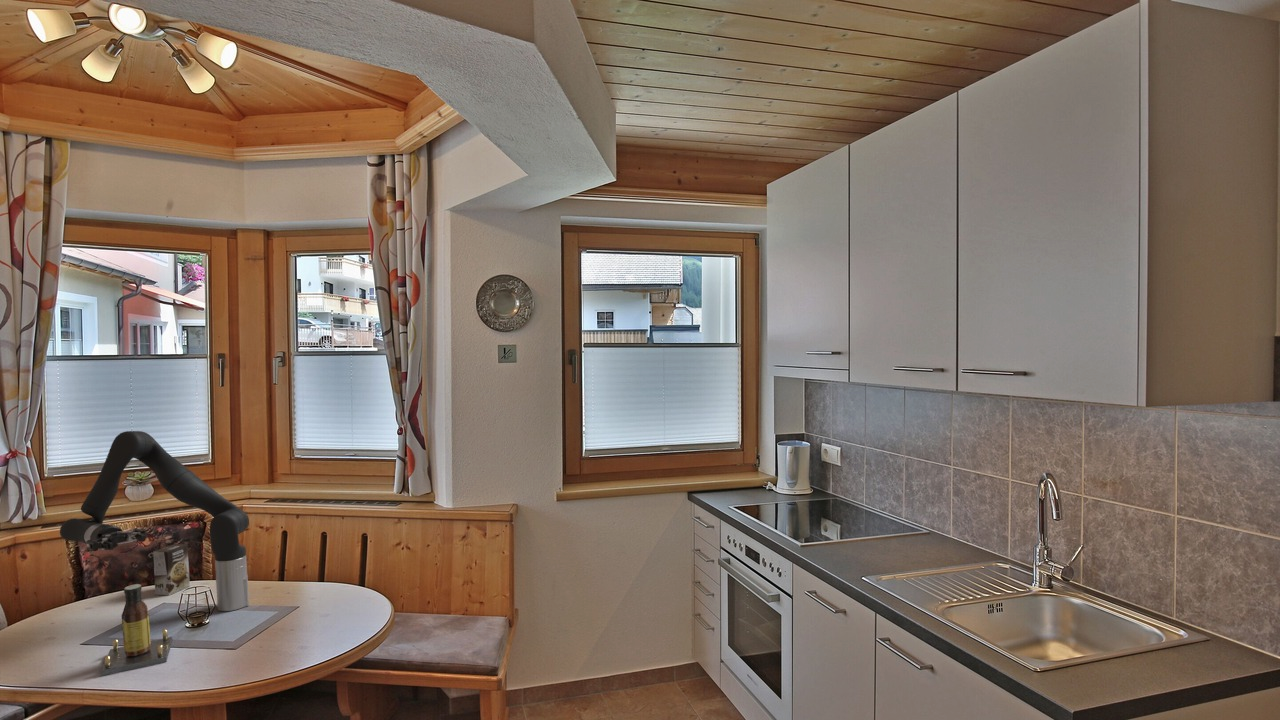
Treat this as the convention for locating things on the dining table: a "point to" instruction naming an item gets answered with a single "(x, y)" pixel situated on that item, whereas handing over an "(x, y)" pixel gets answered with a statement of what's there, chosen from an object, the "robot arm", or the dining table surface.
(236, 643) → the dining table surface
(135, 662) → the standoff plate
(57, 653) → the dining table surface
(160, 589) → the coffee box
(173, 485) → the robot arm
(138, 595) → the sauce bottle
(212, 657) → the dining table surface
